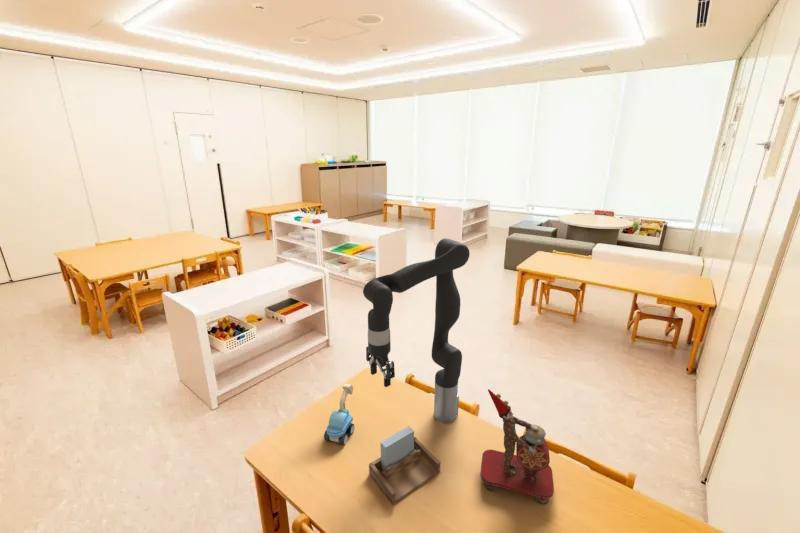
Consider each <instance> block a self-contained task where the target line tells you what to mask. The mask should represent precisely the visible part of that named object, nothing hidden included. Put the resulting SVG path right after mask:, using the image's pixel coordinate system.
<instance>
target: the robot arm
mask: <svg viewBox="0 0 800 533" xmlns="http://www.w3.org/2000/svg"><path fill="white" fill-rule="evenodd" d="M469 259H470V249H469V246H467V245H466V244H464V243H462V242H460V241H457V240H455V239H454V240H453V239H451V238H446V237H445V238H441V239H440V241H438V243H437V244H436V247H435V250H434V258H433V259H429V260H425V261H420V262H415V263H412V264H409V265H407V266H405V267H403V268H400V269H398V270H397V271H395V272H393V273H391V274H385V275H381V276H378V277H374V278H373V279H370V280H369V281H368V282H366V284H364V287H363V290H362V294H363V296H364V298H365V299H366V300H368V302H370V303H371V304H372V309H370V310H369V311H368V314H367V346H366V347H365V349H366V350H365V353H366V354H365V356H366V357H365V358H366V362H368V364H369V367H370V368H369V369H370V374H371V375H372V376H373V375H375V374H377V373H378V368H379V371H380V373H382V376H383V387H385V388H387V387H390V386H391V379H394V378H395V377H396V376H395V374H396V373H395V372H396V371H395V362H394V361H393V360H392V361H390V360H389V354H390V352H391V348H392V347H391V330H390V329H391V328H390V314H391V312H392V305H393V300H394V295H393V293H399V294H400V293H401V294H402V293H404V292H406V291H408V290H410V289H411V288H413V287H416V286H417V285H419V284H421V283H423V282H425V281H427V280H430V279H431V278H434V277H435V280H436V282H435V283H436V284H435V287H436V289H435V311H434V313H435V316H434V317H435V318H434V332H433V340H432V346H431V358H432V361H433V363H435V364H436V365H438V366H439V367H441V368H442V369H439V370H437V371H436V372H435V376H434V397H433V398H434V400H433V401H434V402H433V404H434V405H433V417H434V419H435V420H436V421H437V422H439V423H441V424H450V423H453V422H454V421H455V420H456V419H457V416H459V404H460V403H459V401H460V399H459V398H460V396H459V395H458V391H459V390H458V388H459V378H460V376H461V371H462V365H463V364H462V363H463V353H462V351H461V350H460V349H459V348H457V347H456V346H454V345H452V344H450V343H449V332H450V331H451V329H452V327H453V326H454V325H455V324H456V323H457V321H458V320H459V318H460V313H461V296H460V293H459V289H458V287H457V284H456V280H455V277H454V271H455V270H458V269H460V268H461V267H463V266H465V265H466V264H467V262H468V261H469ZM383 367H384V368H383Z"/></svg>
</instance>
